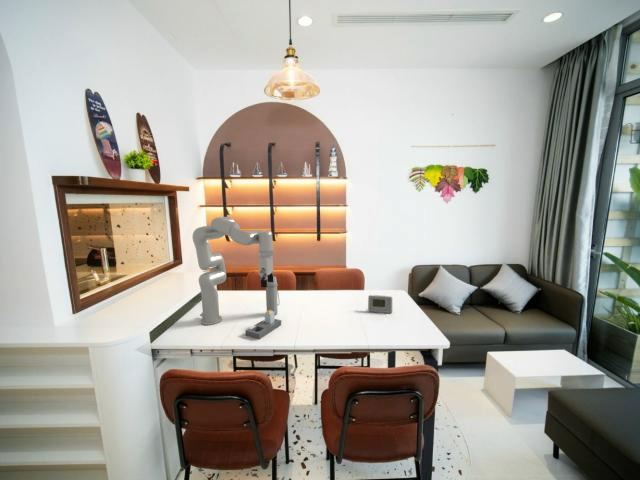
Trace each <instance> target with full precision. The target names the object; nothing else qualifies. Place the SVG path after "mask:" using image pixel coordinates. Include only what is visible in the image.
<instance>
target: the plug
mask: <svg viewBox="0 0 640 480" xmlns="http://www.w3.org/2000/svg"><path fill="white" fill-rule="evenodd" d="M275 317H276V316H275V315H274V311H272V310H269V311H267V310H266V311H265V312H264V319H265V323H268V324H272V323H273V322H275V319H276V318H275Z"/></svg>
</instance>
